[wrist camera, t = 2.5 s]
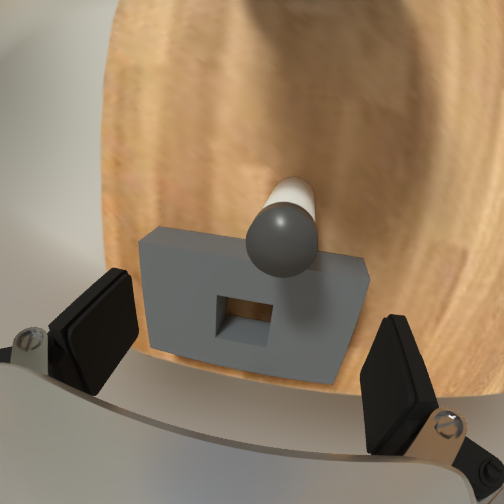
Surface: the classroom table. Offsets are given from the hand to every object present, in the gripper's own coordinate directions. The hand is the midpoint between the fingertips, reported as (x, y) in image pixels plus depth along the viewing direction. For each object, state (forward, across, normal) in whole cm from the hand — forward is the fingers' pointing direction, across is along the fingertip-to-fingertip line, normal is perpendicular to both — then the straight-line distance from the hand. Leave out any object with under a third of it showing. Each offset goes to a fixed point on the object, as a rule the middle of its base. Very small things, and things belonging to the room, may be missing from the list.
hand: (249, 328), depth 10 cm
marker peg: (+20, -1, 0) cm, 20 cm away
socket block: (+20, +2, +12) cm, 23 cm away
